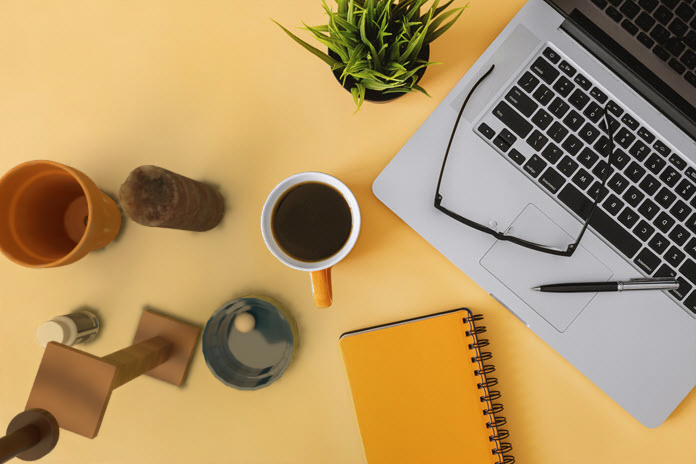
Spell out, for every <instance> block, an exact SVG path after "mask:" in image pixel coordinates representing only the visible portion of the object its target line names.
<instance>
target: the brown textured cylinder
mask: <svg viewBox="0 0 696 464" xmlns="http://www.w3.org/2000/svg"><path fill="white" fill-rule="evenodd" d="M118 197H119V200H118V201H119V205H120V207H121V209H122V210H123V212H124V214H125V215H126V216H127V218H129V219H130V220H131V221H133V222H135V223H136V224H137V225H140V226H143V227H147V228H159V229H170V230H177V231H185V232H195V233H206V232H208V231H212V230H213V229H215V228H217V227H218V226H219V225H220V223H221V222H222V220H223V219H224V215H225V212H226V203H225V199H224V197H223V195H222V193H221V192H220V191H219V190H218V189H217V188H216V187H214V186H212V185H210V184H207V183H205V182H202V181H199V180H196V179H193V178H190V177H188V176H185V175H182V174H180V173H177V172H175V171H172V170H169V169H166V168H164V167H161V166H158V165H153V164H144V165H140V166H138V167H135V168H134V169H133V170H131V171H130V172H129V174H128V176H127V178H126V179H125V180H124V181H123V182H122V184H120V187H119V190H118Z"/></svg>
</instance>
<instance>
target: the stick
mask: <svg viewBox="0 0 696 464" xmlns="http://www.w3.org/2000/svg"><path fill="white" fill-rule="evenodd" d="M60 432H61V431H60V428H59V425H58V422H57V420H56V418H55V417H54V416H53V415H52V414H51V413H50V412H48V411H47V410H45V409H41V408H31V409H28V410H26V411H24V410H23V411H22V412H19V413H18V414H16V415H15V416H13V418H11V420H10V421H9V422H8V425H7V428H6V430H5V435H3V436H1V437H0V464H6V463H7V462H10V461H11V460H13V459H15V458H17V459H19V460H21V461H23V462H36V461H38V460H40V459H43V458H44V457H45V456H47V455H49V454H50V453H51V452H52V451H53V450H55V448H56V446H57V445H58V442H59V439H60V434H61V433H60Z"/></svg>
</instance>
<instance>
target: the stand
mask: <svg viewBox="0 0 696 464" xmlns="http://www.w3.org/2000/svg"><path fill="white" fill-rule="evenodd" d="M201 331H202V328H201V327H197V326H195V325H192V324H189V323H186V322H183V321H180V320H178V319H175V318H172V317H169V316H167V315H163V314H160V313H157V312H155V311H152V310H148V309H146V310H143V312H142V315H141V318H140V321H139V324H138V327H137V330H136V333H135V336H134V339H133V341H132V345H129V346H126V347H124V348H121V349H119V350H116V351H114V352H111V353H108V354H106V355H103V356H99V355H97V354H96V355H95V354H93V353H89V352H88V351H85V350H82V349H78V348H76V347H74V346H71V347H70V346H67V345H65V344H62V343H59V342H56V341H50V342H48V343H47V346H46V349H44V351H43V355H42V358H41V360H40V363H39V366H38V369H37V372H36V374H35V378H34V381H33V384H32V386H31V390H30V392H29V394H28V398H27V401H26V404H25V407H24V410H23V412H24V411H26V410H28V409H31V408H41V409H45V410H47V411H48V412H50V413H51V414H52V415H53V416H54V417H55V418H56V420H57V422H58V425H59V429H62V430H64V431H68V432H70V433H73V434H76V435H79V436H81V437H84V438H87V439H89V440H94V439H96V438H98V435H99V433H100V430H101V427H102V424H103V421H104V418H105V415H106V412H107V409H108V407H109V403H110V400H111V397H112V394H113V391H115V390H116V389H118V388H120V387H122V386H124V385H125V384H128V383H129V382H132V381H133V380H135V379H137V378H139V377H141V376H142V375H145V376H148V377H151V378H153V379H157V380H159V381H162V382H165V383H167V384H171V385H173V386H176V387H178V388H179V387H182V386H183V385H184V382H185V379H186V376H187V373H188V370H189V367H190V365H191V361H192V358H193V355H194V352H195V350H196V346H197V344H198V340H199V338H200V335H201Z"/></svg>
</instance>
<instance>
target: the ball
mask: <svg viewBox="0 0 696 464" xmlns="http://www.w3.org/2000/svg"><path fill="white" fill-rule="evenodd" d="M254 326H255V318H254V316H253V315H252V314H250V313H248V312H243V313H240V314H239V315H238V316H237V317H236V319H235V327H236V329H237V330H238V331H240V332H242V333H247V332H250V331H251V330H252V329H253V328H254Z"/></svg>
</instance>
